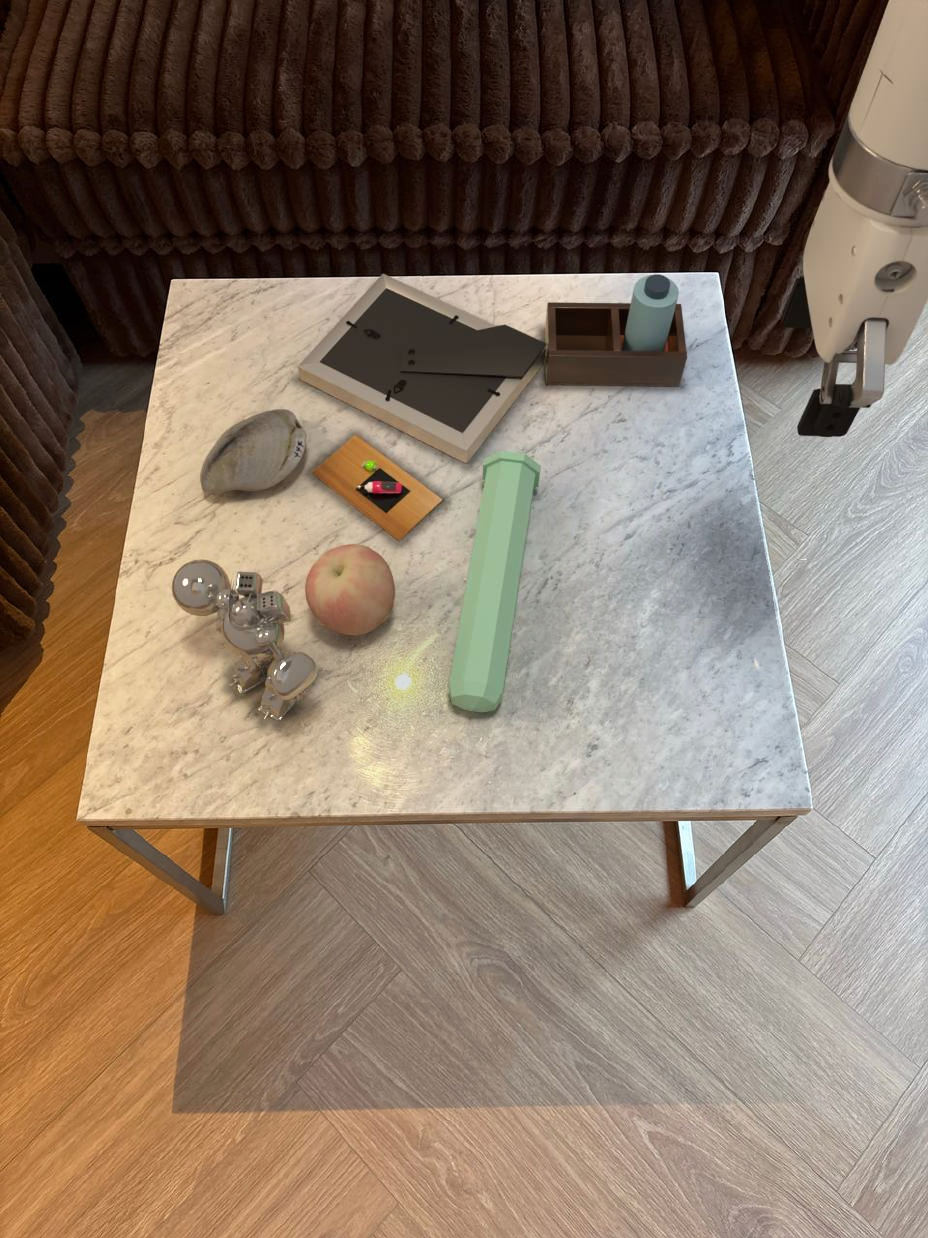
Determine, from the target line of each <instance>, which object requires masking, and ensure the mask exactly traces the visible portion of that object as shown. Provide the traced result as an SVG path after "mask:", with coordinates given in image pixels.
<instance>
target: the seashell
mask: <svg viewBox="0 0 928 1238" xmlns="http://www.w3.org/2000/svg"><path fill="white" fill-rule="evenodd" d="M307 439H308V436H307V433H306V431H305V429H304V427H303V425H302V424H301V423H300V420H299V419H298V418H297V416H296V414H295V413H294V412H293V411H291V410H290V409H284V408H281V409H280V408H277V409H272V410H266V411H262V412H260V413H259V412H258V413H257V414H254V415H251V416H250V417H247V418H245V419H243V420H240V421H238V422H237V423H235V424H233V425H232V426H230V427H229V428H227V429H226V430H225V431H224V432H223V433H222V434H221V435H220V437H219V438H218V439H217V440H216V442H215V443H214V445H213V446H212V447H211V449H210V451H209V452H208V453H207V454H206V457H205V458H204V460H203V463H202V466H201V469H200V473H199V474H200V475H199V481H200V486H201V489H202V491H203V492H205V493H207V494H210V495H213V496H219V495H221V494H223V493H227V492H229V491H235V490H236V491H237V490H238V491H242V492H257V491H263V490H267V489H270V488H272V487H274V486H276V485H278V484H280V483H281V482H282V481H283V480H285V479H286V478H287V477H288V476H289V475H290V474H291V473H292V472H294V471H295V469H296V468H297V466H298V465H299V463H300V462H301V460H302V458H303V456H304V452H305V449H306V443H307Z"/></svg>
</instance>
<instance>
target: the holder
mask: <svg viewBox="0 0 928 1238" xmlns="http://www.w3.org/2000/svg"><path fill="white" fill-rule="evenodd" d="M630 305H631V302H558V301H557V302H556V301H555V302H554V301H552V302H551V301H549V302H547V304H546V313H545V324H544V342H545V343H547V344H546V346H545V347H544V348H546V354H545V362H544V365H545V366H544V367H545V369H544V370H545V386H593V387H594V386H599V387H600V386H601V387H607V386H608V387H670V388H672V387H674V388H676V387H678V388H679V387H680V384H681V381H682V378H683V374H684V372H685V368H686V364H687V360H688V352H687V343H686V334H685V326H684V325H685V324H684V315H683V308H682V303H676V307H675V311H674V315H673V318H672V322H671V326H670V330H669V334H668V338H667V342H666V346H665V350H664V351H621V349H622V344H623V339H624V334H625V329H626V325H627V320H628V315H629V310H630Z"/></svg>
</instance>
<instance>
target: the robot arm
mask: <svg viewBox="0 0 928 1238" xmlns="http://www.w3.org/2000/svg"><path fill="white" fill-rule="evenodd" d="M828 178H829V183H828V185H827V187H826V189H824V190H823V192H822V196H821V201H820V204H819V206H818V208H817V211H816V213H815V216H814V219H813V221H812V224H811V227H810V230H809V233H808V236H807V240H806V243H805V247H804V250H803V256H802V258H801V259H800V262H799V267H798V274H799V277H796V278H795V280H794V283H793V285H792V288H791V290H790V294H789V297H788V299H787V302H786V304H785V307H784V310H783V312H782V314H781V325H782V326H783V327H784V328H786V329H812V334H813V339H814V345H815V349H816V352H817V354H818V355H819V357H820V358H821V359H822V360H823V361H824V363H823V367H822V375H821V382H820V388H816V389H813V391H812V393H811V395H810V397H809V399H808V401H807V404H806V406H805V408H804V410H803V413H801V417H800V419H799V421H798V423H797V425H796V430H797V434H798V436H800V437H820V438H834V437H835V438H837V437H838V438H841V437H844V436H846V435H847V434H848V432H849V430H850V428H851V426H852V424H853V422H854V421H855V418H856V417H857V415H858V413H859V411H860V410H861V409H870V408H871V407H872V405H873V404H875V403H877V402H878V401H879V400H881V399H882V398H883V397H884V392H885V381H886V380H885V378H886V365H888V366H890V365H891V366H892V365H894V364H895V363H896V362H898V360H899V358H900V357H901V355H902V354H903V352H904V350H905V348H906V346H907V344H908V342H909V340H910V339H911V336H912V335H913V332H914V330H915V328H916V326H917V324H918V322H919V320H920V318H921V316H922V313H923V311H924V309H925V307H926V305H927V302H928V0H888V2H887V5H886V8H885V10H884V13H883V17H882V19H881V21H880V24H879V27H878V30H877V33H876V36H875V38H874V40H873V43H872V45H871V49H870V52H869V55H868V58H867V60H866V63H865V66H864V68H863V71H862V74H861V77H860V79H859V83H858V85H857V88H856V90H855V93H854V96H853V98H852V101H851V104H850V108H849V110H848V113H847V116H846V118H845V121H844V125H843V126H842V129H841V132H840V135H839V138H838V140H837V142H836V146H835V148H834V152H833V154H832V157H831V159H830V162H829V166H828ZM802 277H803V278H802ZM855 339H856V350H846V349H848V348H849V347H850V346H851V345H852V344H853V343H854V341H855ZM842 363H843V364H845V363H846V364H856V367H855V370H856V371H855V378H854V380H853V382H852V383H850V384H849V383H837V379H838V378H837V377H838V372H839V365H840V364H842Z"/></svg>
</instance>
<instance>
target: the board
mask: <svg viewBox="0 0 928 1238" xmlns="http://www.w3.org/2000/svg"><path fill="white" fill-rule="evenodd" d="M311 474H312V475H313V476H315V477H316V478H317V479H318V480H319V481H321V482H322V483H323V484H325V485H326V486H327V487H328V488H330V489H331V490H332V491H333V492H335V493H336V494H337V495H338V496H340V497H341V498H342V499H344V500H345V501H346V502H347V503H349V504H350V505H352V506H353V507H354V508H356V510H358V511H359V512H361V514H363V515H364V516H366V517H367V519H369V520H371V521H372V522H373V523H375V524H376V525H377V526H379V527H380V528H381V529H382V530H384V531H385V532H386V533H387V534H389V535H390V536H391V537H393V538H394V539H395V540H397V541H398V542H400V541H401V540H402V539H403V538H404V537H405V536H407V534H408V533H410V531H412V530H413V529H414V528H415V527H416V526H417V525H418V524H419V523H421V521H422V520H424V519H425V518H426V517H427V516H428V515H429V514H431V512H432V511H434V510H435V509H436V508H437V507H438V506H439V505H440V504H441V503H442V502H443V500H444V499H442V497H440V496H439V495H437V494H436V493H435V492H433V491H432V490H430V488H428V487H427V486H425V484H423V483H421V482H420V481H419V480H417V478H415V477H413V476H412V475H410V474H409V473H408V472H406V470H404V469H402V468H401V467H400V466H399V465H397V464H396V463H395V462H393V461H392V460H391V459H389V458H388V457H387V456H385V455H384V454H383V453H381V452H380V451H378V450H377V449H376V448H374V446H372V445H371V444H369V443H368V442H367V441H365V440H364V439H362V438H361V437H360V436H359V435H357V434H355V435H353V436H352V437H351V438H350V439H349V440H347V442H345V443H344V444H343V445H342V446H341V447H339V448H338V449H337V450H336V451H334V453H332V454H331V455H330V456H329V457H328V458H326V460H324V461H323V462H322V463H320V464H319V465H318V466H317V467H316V468H314V469H313V470H312V471H311Z"/></svg>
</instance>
